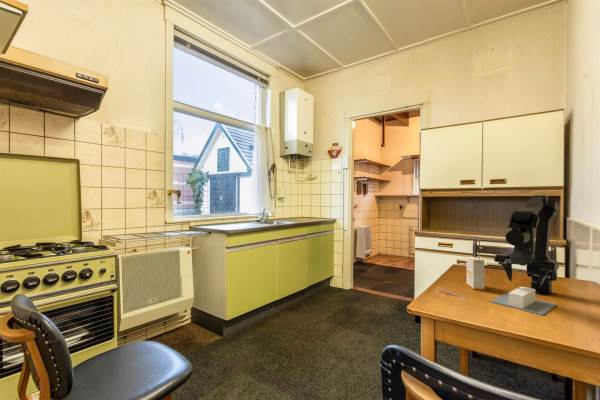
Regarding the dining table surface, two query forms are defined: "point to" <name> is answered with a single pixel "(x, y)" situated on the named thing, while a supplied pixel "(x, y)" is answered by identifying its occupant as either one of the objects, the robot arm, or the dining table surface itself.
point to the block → (521, 297)
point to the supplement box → (475, 273)
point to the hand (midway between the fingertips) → (524, 283)
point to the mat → (534, 307)
